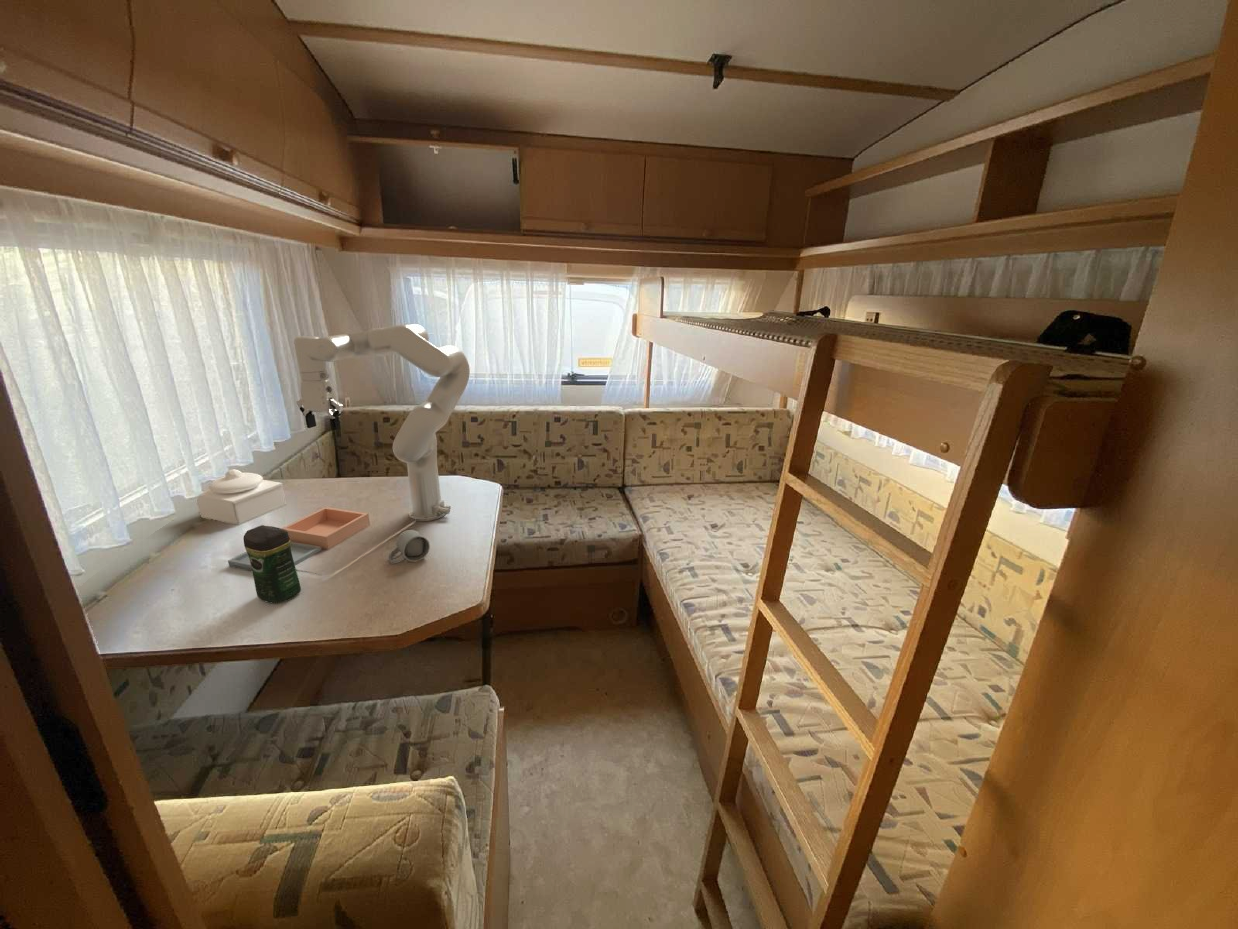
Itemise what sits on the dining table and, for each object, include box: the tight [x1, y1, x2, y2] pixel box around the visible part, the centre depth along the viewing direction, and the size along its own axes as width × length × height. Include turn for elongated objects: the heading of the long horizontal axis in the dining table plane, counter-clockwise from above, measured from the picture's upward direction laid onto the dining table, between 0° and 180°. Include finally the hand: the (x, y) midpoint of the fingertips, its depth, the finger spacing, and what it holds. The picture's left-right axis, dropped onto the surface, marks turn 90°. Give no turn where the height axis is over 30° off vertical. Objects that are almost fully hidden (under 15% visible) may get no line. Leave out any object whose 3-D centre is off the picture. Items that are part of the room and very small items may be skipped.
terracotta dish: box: [281, 506, 371, 550], centre depth 158 cm, size 17×17×5 cm
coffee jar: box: [243, 524, 302, 604], centre depth 125 cm, size 10×8×19 cm
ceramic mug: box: [387, 529, 431, 565], centre depth 146 cm, size 11×8×8 cm
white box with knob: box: [196, 468, 288, 526], centre depth 172 cm, size 18×18×16 cm
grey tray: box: [227, 541, 323, 572], centre depth 144 cm, size 18×14×2 cm
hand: (323, 428), depth 165 cm, fingers open, 9 cm apart
